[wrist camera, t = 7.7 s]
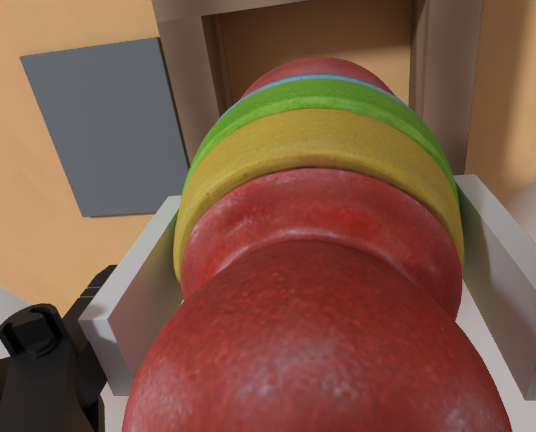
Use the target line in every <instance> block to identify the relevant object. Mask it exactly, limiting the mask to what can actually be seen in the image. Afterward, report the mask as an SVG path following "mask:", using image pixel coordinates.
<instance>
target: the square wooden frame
mask: <svg viewBox="0 0 536 432" xmlns="http://www.w3.org/2000/svg"><path fill="white" fill-rule="evenodd" d="M302 1H309V0H152V5H153V9H154V13H155V17H156V22H157V26H158V30H159V34H160V39H161V43H162V47H163V52H164V56H165V60H166V64H167V69H168V73H169V77H170V81H171V86H172V90H173V94H174V98H175V103H176V107H177V111H178V115H179V120H180V124H181V128H182V133H183V137H184V141H185V145H186V150H187V154H188V158H189V162H190V166H191V164H192V162H193V159H194V157H195V155H196V153H197V151H198V149H199V147H200V145H201V143H202V142H203V140H204V138H205V137H206V135H207V134H208V132H209V131H210V130H211V128H212V127H213V126H214V125H215V123H216V122H217V121H218V120H219V118H220V117H221V116H222V115H223V114H224V113H225V112H226V111H227V110H228V109H229V108H230V107H232V106H233V99H232V93H231V87H230V81H229V75H228V69H227V63H226V57H225V51H224V45H223V39H222V33H221V27H220V21H219V15H218V14H221V13H227V12H234V11H241V10H248V9H255V8H261V7H268V6H275V5H282V4H289V3H296V2H302ZM482 9H483V0H413V3H412V29H411V56H410V82H409V108H411V109H412V110H413V111H414V112H415V113H416V114H417V115H418V116H419V117H420V119H421V120H422V121H423V122H424V123H425V124H426V125H427V127H428V128H429V129H430V131H431V132H432V133H433V135H434V136H435V137H436V139H437V140H438V142H439V144H440V146H441V148H442V150H443V152H444V154H445V156H446V159H447V161H448V164H449V166H450V169H451V171H452V174H453V176H454V175H464V170H465V161H466V152H467V144H468V135H469V126H470V117H471V108H472V99H473V90H474V81H475V72H476V63H477V54H478V45H479V36H480V27H481V18H482Z"/></svg>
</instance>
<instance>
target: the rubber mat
mask: <svg viewBox="0 0 536 432" xmlns="http://www.w3.org/2000/svg"><path fill="white" fill-rule="evenodd" d="M20 60H21V62H22V65H23V67H24V70H25V72H26V75H27V77H28V80H29V83H30V85H31V88H32V90H33V93H34V95H35V98H36V100H37V103H38V105H39V108H40V110H41V113H42V115H43V118H44V120H45V123H46V126H47V128H48V131H49V133H50V136H51V138H52V141H53V143H54V146H55V148H56V151H57V153H58V156H59V158H60V161H61V163H62V166H63V169H64V171H65V174H66V176H67V179H68V181H69V184H70V186H71V189H72V191H73V194H74V196H75V199H76V201H77V204H78V206H79V209H80V211H81V214H82V217H90V216H105V215H121V214H136V213H152V212H157V211H158V210H159V208H160V207H161V206H162V204H163V203H164V202H165V200H166V199H167V198H168V196H179V195H182V191H183V187H184V184H185V180H186V177H187V174H188V171H189V169H190V166H189V162H188V158H187V154H186V149H185V145H184V141H183V137H182V132H181V128H180V124H179V120H178V115H177V111H176V107H175V103H174V98H173V94H172V90H171V86H170V81H169V77H168V73H167V69H166V65H165V60H164V56H163V52H162V48H161V43H160V39H159V37H156V38H149V39H142V40H135V41H128V42H121V43H113V44H106V45H99V46H92V47H85V48H78V49H71V50H64V51H56V52H49V53H42V54H35V55H28V56H21V57H20Z"/></svg>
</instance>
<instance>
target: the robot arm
mask: <svg viewBox="0 0 536 432" xmlns="http://www.w3.org/2000/svg"><path fill="white" fill-rule="evenodd" d="M453 178H454V181H455V185H456V189H457V192H458V198H459V206H460V217H461V223H462V230H463V239H464V270H463V276H462V278H463V280H464V282H465V284H466V286H467V288H468V290H469V292H470V293H471V296H472V298H473V300H474V301H475V303H476V305H477V307H478V309H479V311H480V313H481V315H482V317H483V319H484V321H485V323H486V325H487V327H488V329H489V331H490V333H491V335H492V337H493V339H494V340H495V342H496V344H497V346H498V348H499V350H500V352H501V354H502V356H503V358H504V360H505V362H506V364H507V366H508V368H509V370H510V372H511V374H512V376H513V378H514V380H515V382H516V383H517V385H518V387H519V389H520V391H521V393H522V395H523V397H524V399H525V400H536V243H535V242H534V240H533V239H532V238H531V237H530V236H529V235H528V234H527V233H526V231H525V230H524V229H523V228H522V227H521V226H520V225H519V224H518V222H517V221H516V220H515V219H514V218H513V217H512V216H511V214H510V213H509V212H508V211H507V210H506V209H505V208H504V206H503V205H502V204H501V203H500V202H499V201H498V200H497V198H496V197H495V196H494V195H493V194H492V193H491V192H490V191H489V189H488V188H487V187H486V186H485V185H484V184H483V183H482V181H481V180H480V179H479V178H478V177H477V176H476V175H475V174H468V175H454V176H453ZM181 196H182V195H179V196H168V198H167V199H166V200H165V202H164V203H163V204H162V206H161V207H160V208H159V210H158V211H157V213H156V214H155V215H154V217H153V218H152V219H151V221H150V222H149V223H148V225H147V226H146V227H145V229H144V230H143V232H142V233H141V234H140V236H139V237H138V238H137V240H136V241H135V242H134V244H133V245H132V247H131V248H130V249H129V251H128V252H127V253H126V255H125V256H124V257H123V259H122V260H121V261H120V263H119V264H118V265H109V266H108V267H107V268H105V269H104V270H103V271H101V272H100V273H99V274H97V275H96V276H95V278H94V279H93V280H92V281H91V283H90V284H89V285H88V286H87V287H88V288H87V289H85V290H84V292H83V293H82V294H81V295H80V298H78V299H77V300H76V302H75V303H74V304H73V306H72V307H71V308H70V309H69V311H68V312H67V313H66V314H65V316H64V317H63V318H61V317H60V315H59V313H58V311H57V309H56V307H55V306H53V305H51V304H43V303H41V304H37V305H32V306H29V307H27V308H25V309H22V310H20V311H18V312H16V313H15V314H13V315H12V316H10V317H9V318H8V319H6V320H5V321H4V322H3V323H2V324H1V325H0V339H1V341H2V343H3V344H4V346H5V348H6V349H7V351H8V352H9V354H10V357H7V358H3V359H0V432H105V416H104V415H105V414H104V403H103V400H102V397H101V395H100V393H101V391H102V389H103V388H104V386H105V384H106V382H108V384H109V386H110V388H111V390H112V392H113V395H114V396H129V394H130V391H131V388H132V385H133V383H134V380H135V377H136V374H137V372H138V370H139V368H140V366H141V364H142V362H143V360H144V358H145V356H146V354H147V352H148V350H149V348H150V346H151V345H152V343H153V341H154V340H155V338H156V337H157V335H158V333H159V332H160V330H161V329H162V327H163V326H164V325H165V324H166V322H167V321H168V320H169V319H170V317H171V316H172V315H173V314H174V312H175V311H176V310H177V309H178V308H179V307H180V304H181V302H182V300H183V296H182V294H181V291H180V289H179V286H178V283H177V278H176V274H175V270H174V259H173V248H174V236H175V227H176V222H177V217H178V212H179V207H180V204H181Z"/></svg>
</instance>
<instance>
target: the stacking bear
mask: <svg viewBox="0 0 536 432" xmlns="http://www.w3.org/2000/svg"><path fill="white" fill-rule="evenodd" d="M173 259H174V270H175V274H176V278H177V283H178V286H179V289H180V291H181V294H182V296H183V300H184V302H183V303H182V304H181V305H180V307H179V308H178V309H177V310H176V311H175V312H174V314H173V315H172V316H171V317H170V319H169V320H168V321H167V322H166V324H165V325H164V326H163V327H162V329H161V330H160V332H159V333H158V335H157V337H156V338H155V340H154V341H153V343H152V345H151V346H150V348H149V350H148V352H147V354H146V356H145V358H144V360H143V362H142V364H141V366H140V368H139V370H138V372H137V374H136V377H135V380H134V383H133V385H132V388H131V391H130V394H129V399H128V402H127V405H126V409H125V415H124V420H123V426H122V432H512V429H511V425H510V421H509V417H508V415H507V412H506V410H505V407H504V405H503V402H502V400H501V397H500V395H499V392H498V390H497V388H496V385H495V383H494V380H493V378H492V377H491V375H490V373H489V371H488V369H487V367H486V365H485V363H484V361H483V359H482V358H481V356H480V355H479V353H478V352H477V350H476V349H475V347H474V346H473V344H472V343H471V341H470V340H469V339H468V337H467V336H466V334H465V333H464V332H463V330H462V329H461V328H460V327H459V326H458V324H457V323H456V322H455V320H456V317H457V313H458V309H459V306H460V303H461V295H462V276H463V270H464V239H463V230H462V223H461V217H460V206H459V198H458V192H457V189H456V185H455V181H454V178H453V174H452V171H451V169H450V166H449V164H448V161H447V159H446V156H445V154H444V152H443V150H442V148H441V146H440V144H439V142H438V140H437V139H436V137H435V136H434V135H433V133H432V132H431V131H430V129H429V128H428V127H427V125H426V124H425V123H424V122H423V121H422V120H421V119H420V117H419V116H418V115H417V114H416V113H415V112H414V111H413V110H412V109H411V108H409V107H408V106H407V105H406V104H404V103H403V102H402V101H401V100H399V99H398V98H397V97H396V96H395V95H394V94H393V93H392V91H391V90H390V89H389V88H388V87H387V86H386V85H385V84H384V82H383V81H381V80H380V79H379V78H378V77H377V76H376V75H374V74H373V73H371V72H370V71H368V70H367V69H365V68H363V67H361V66H359V65H357V64H354V63H352V62H349V61H346V60H342V59H337V58H331V57H309V58H303V59H298V60H293V61H290V62H287V63H285V64H282V65H280V66H278V67H275V68H274V69H272V70H270V71H269V72H267V73H266V74H264V75H263V76H261V77H260V78H259V79H257V80H256V81H255V82H254V83H253V84H252V85H251V86H250V87H249V88H248V89H247V91H246V92H245V93H244V94H243V96H242V97H241V99H240V100H239V101H238V102H236V103H235V104H234V105H233V106H232V107H230V108H229V109H228V110H227V111H226V112H225V113H224V114H223V115H222V116H221V117H220V118H219V120H218V121H217V122H216V123H215V125H214V126H213V127H212V128H211V130H210V131H209V132H208V134H207V135H206V137H205V138H204V140H203V142H202V143H201V145H200V147H199V149H198V151H197V153H196V155H195V157H194V159H193V162H192V164H191V166H190V169H189V171H188V174H187V177H186V180H185V184H184V187H183V191H182V196H181V204H180V207H179V212H178V217H177V222H176V227H175V236H174V248H173Z"/></svg>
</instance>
